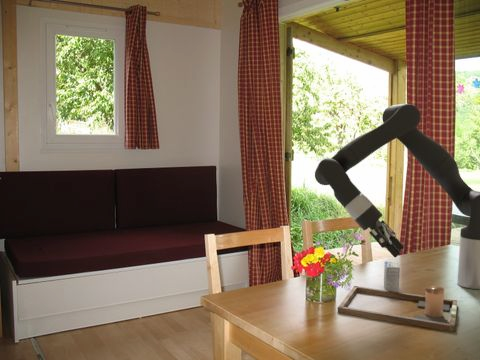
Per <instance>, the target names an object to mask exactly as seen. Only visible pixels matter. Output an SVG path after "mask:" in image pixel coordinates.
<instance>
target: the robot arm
mask: <svg viewBox="0 0 480 360" xmlns="http://www.w3.org/2000/svg"><path fill="white" fill-rule="evenodd" d="M420 111H421V110H420V109H419V108H418V107H417V106H416V105H414V104H411V103H399V104H393V105H390V106H388V107H386V108H385V109H384V111H383V113H382V123H381V124H380V125H379V126H377V127H375V128H373V129H371V130H369V131H367V132H366V133H363V134H361V135H359V136H357V137H356V138H354V139H352V140H351V141H350V142H348V143H347V144H345V145H344V146H343V147H341V148H340V149H339V150H338V151H337V152H336V154H334V155H333V156H332V157H331V158H330V157H327V158H323V159H321V160H320V162H319V163H318V165H317V167H316V168H315V171H314V178H315V180H316V182H317V183H319V184H320V185H322V186H329V187H330V188H331V189H332V190H333V194H334V197H335V199H336V200H337V201H338V202H339V203H340V205H341V206H342V207H343V208H344V209H345V210H346V212H347V213H348V215H349V216H350V217H351V218H352V219H353V221H354V222H355V223H357V225H358V226H359V227H360V229H362V230H363V231H366V230H368V229H370V231H369V234H370V236H371V237H372V238H373V239H374V240H375V241H376V242H377V243H378V245H379V246H380V247H381V248H384V249H386V250H387V251H388V252H389V254H391V255H392V256H393V258H397V257H398V256H399V255H401V250H404V248H405V246H404V245H403V243H402V242H401V241H400V240H399V239H398V238H397V235H396V234H397V233H396V232H395V231H394V230H393V229H392V228H391V227H390V226H389V225H388V224H387V223H386V221H385V220H381V221H380V219H381V218H382V217H383V214H382V212H381V211H380V210H379V209H378V207H377V206H375V204H374V203H373V202H372V201H371V200H370V198H368V197H367V196H366V195H364V194H363V193H362V192H361V190H360V189H359V188H358V187H357V186H356V185H355V183H353V182H352V180H351V179H350V177H349V175H348V174H347V172H348V171H349V170H350V169H353V168H354V167H355V166H357V165H358V164H360V163H361V162H363V161H364V160H365V159H366V158H368V157H369V156H370V155H372V154H374V153H375V152H377V150H380V149H381V148H382V147H384V146H385V145H386V144H388V143H390V142H392V141H394V140H396V139H397V140H399V142H400V143H401V144H402V145H403V146H404V147H406V149H407V150H408V151H409V152H410V153H411V154H412V156H413V157H414V158H415V159H416V161H417V162H419V164H420V165H421V166H422V167H423V168H424V170H425V171H426V172H427V173H428V174H429V175H430V177H431V178H433V180H434V181H435V182H436V183H437V184H438V185H439V186H440V188H442V189H443V190H444V191H445V193H446V194H447V195H448V197H449V198H450V199H451V201H452V202H453V204H454V205H455V207H456V208H457V209H458V211H459V212H460V213H461V214H462V215H464V216H466V217H469V221H468V225H467V226H463V227H461V229H460V234H459V251H458V266H457V267H458V269H457V285H458V286H460V287H462V288H467V289H472V290H480V191H478V190H474V189H472V188H471V187H470V186H469V185H468V184H467V183H466V182H465V180H463V178H462V176H461V174H460V170H459V166H458V163H457V162H456V160H455V158H454V157H453V156H452V154H450V153H449V151H448V150H447V149H446V148H445V147H444V146H443V145H442V144H441V143H439V142H437V141H436V140H434V139H433V138H431V137H429V136H428V135H426V134H424V133H423V132H422V131H420V129H419V128H417V127H418V126H419V124H420V122H421V119H422V118H421V112H420Z"/></svg>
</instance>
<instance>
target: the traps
mask: <svg viewBox="0 0 480 360" xmlns="http://www.w3.org/2000/svg"><path fill="white" fill-rule="evenodd" d="M450 307H451V306H450V304H444V303H443V312H447V313H449V312H450ZM417 308H419V309H420V308H421V309H425V301H424V300H419V301H418V304H417ZM413 318H417V319H423V320H429V321H435V322H441V323H448V324H449V322H448V321H449V320H448V319H444V318H440V317H439V318H435V317H429V316H427V315H420V314H419V315H418V314H414V315H413Z"/></svg>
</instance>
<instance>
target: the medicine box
mask: <svg viewBox="0 0 480 360" xmlns="http://www.w3.org/2000/svg"><path fill="white" fill-rule="evenodd" d="M400 272H401V268H400V265H399V262H397V261H388V260H387V261H384V271H383V273H384V275H383V286H384V290H387V291H394V292H400V278H401V277H400V275H401V273H400Z"/></svg>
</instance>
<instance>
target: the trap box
mask: <svg viewBox="0 0 480 360" xmlns="http://www.w3.org/2000/svg"><path fill="white" fill-rule="evenodd" d="M357 293H360V294H361V293H362V294H368V295H376V296H382V297H386V298H387V297H388V298H389V297H390V298H396V299H401V300H402V299H403V300H408V301H415V302H419V300H424V301H425V296H426V295H422V294H421V295H420V294H414V293H409V292H408V293H406V292H400V291H399V292H394V291H387V290H385V289H378V288H373V287H371V288H370V287H364V286H358V285H354V286H353V287H352V289H351V290H350V291H348V294H346V296H345V297H344V298H343V300H342V302H340V304H339V305H338V307H337V313H338V314H339V313H340V314H345V315H350V316H351V315H352V316H357V317H364V318H369V319H375V320H381V321H386V322H392V323H398V324H404V325H405V324H406V325H411V326H418V327H422V328H423V327H424V328H429V329H435V330H440V331H447V332H453V333H455V328H456V320H457V319H456V318H457V311H458V308H457V307H458V300H455V299H450V298H449V299H448V298H444V299H443V303H444V304H450V307H451V313H450V323H449V322H448V323H441V322H435V321H429V320H423V319H417V318H414V317H410V316H409V317H408V316H403V315H397V314H392V313H385V312H377V311H374V310H373V311H372V310H367V309H362V308H361V309H360V308H354V307H348V305H349V304H350V302H351V301H352V300H353V299H354V297H355V295H356V294H357Z"/></svg>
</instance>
